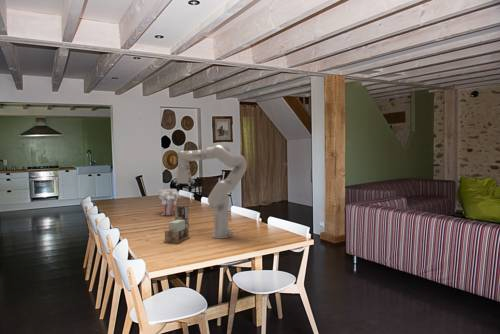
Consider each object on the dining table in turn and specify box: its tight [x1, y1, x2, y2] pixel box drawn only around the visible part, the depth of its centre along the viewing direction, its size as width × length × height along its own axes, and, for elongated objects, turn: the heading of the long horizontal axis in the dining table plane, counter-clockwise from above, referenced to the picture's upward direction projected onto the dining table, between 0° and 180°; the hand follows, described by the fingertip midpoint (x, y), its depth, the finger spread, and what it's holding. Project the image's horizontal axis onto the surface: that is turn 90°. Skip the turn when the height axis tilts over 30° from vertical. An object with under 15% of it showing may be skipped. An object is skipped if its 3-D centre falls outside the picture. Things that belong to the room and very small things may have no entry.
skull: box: [157, 188, 180, 217], centre depth 333 cm, size 25×19×23 cm
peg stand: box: [163, 226, 191, 245], centre depth 245 cm, size 11×16×8 cm
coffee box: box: [174, 205, 190, 228], centre depth 286 cm, size 9×6×16 cm
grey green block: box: [168, 219, 185, 232], centre depth 245 cm, size 6×10×6 cm, turn 158°
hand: (184, 191), depth 265 cm, fingers open, 9 cm apart
